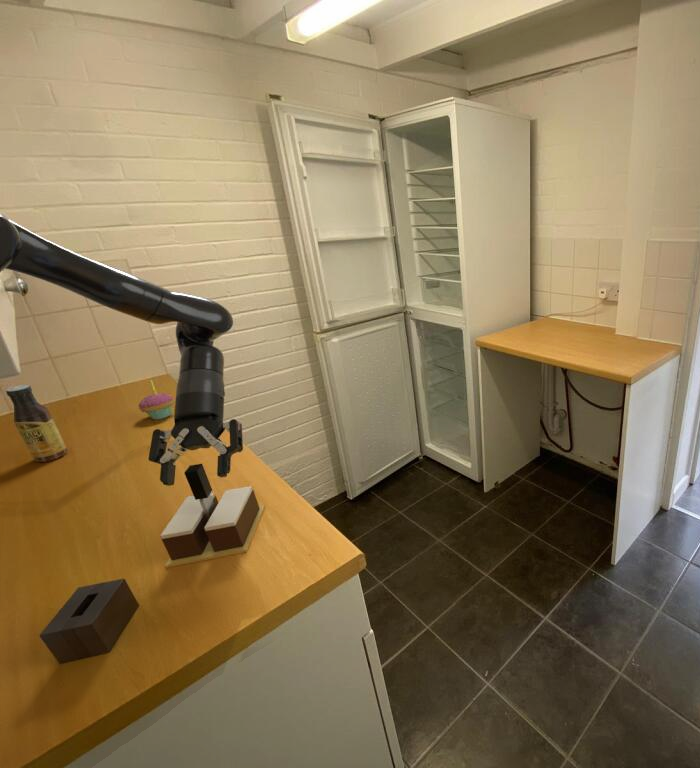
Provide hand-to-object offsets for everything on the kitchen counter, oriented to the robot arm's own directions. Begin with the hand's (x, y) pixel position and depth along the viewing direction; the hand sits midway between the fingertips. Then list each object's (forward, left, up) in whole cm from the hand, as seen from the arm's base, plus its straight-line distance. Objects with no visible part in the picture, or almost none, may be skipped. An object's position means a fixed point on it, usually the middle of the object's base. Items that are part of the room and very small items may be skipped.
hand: (195, 480), depth 75 cm
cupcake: (-25, +70, -14) cm, 75 cm away
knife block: (-13, -15, -13) cm, 24 cm away
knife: (0, +1, -13) cm, 13 cm away
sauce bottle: (-45, +55, -14) cm, 72 cm away
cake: (0, +1, -13) cm, 13 cm away
